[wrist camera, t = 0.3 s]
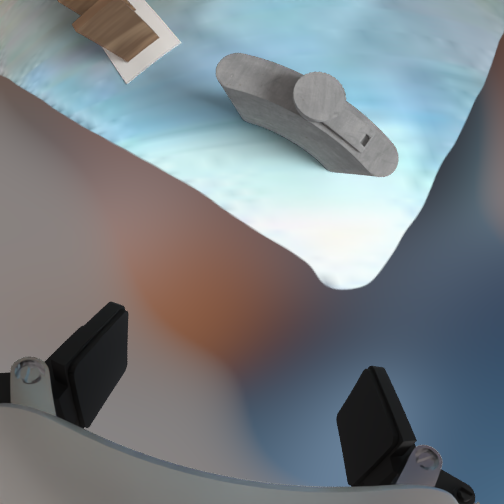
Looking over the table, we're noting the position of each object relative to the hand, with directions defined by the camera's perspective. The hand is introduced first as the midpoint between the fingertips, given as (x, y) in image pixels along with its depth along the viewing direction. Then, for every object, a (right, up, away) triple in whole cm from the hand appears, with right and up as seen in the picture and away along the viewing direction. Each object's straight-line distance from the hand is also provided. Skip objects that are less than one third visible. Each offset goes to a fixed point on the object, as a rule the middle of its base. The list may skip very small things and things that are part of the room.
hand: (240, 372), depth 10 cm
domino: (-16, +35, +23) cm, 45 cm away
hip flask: (+6, +20, +26) cm, 33 cm away
